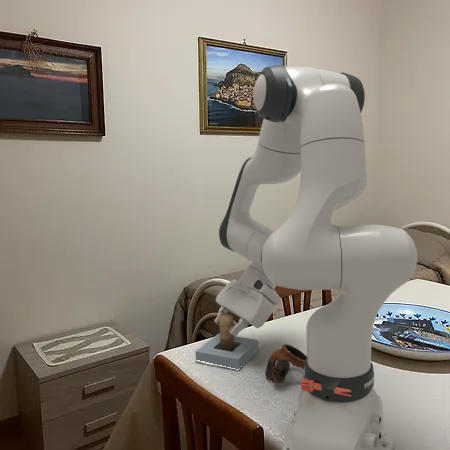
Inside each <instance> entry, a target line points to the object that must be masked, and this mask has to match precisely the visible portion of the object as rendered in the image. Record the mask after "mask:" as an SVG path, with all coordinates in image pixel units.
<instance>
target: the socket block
mask: <svg viewBox="0 0 450 450" xmlns="http://www.w3.org/2000/svg"><path fill="white" fill-rule="evenodd" d="M234 343H235V350H234V351H233V352H230V351H225V350H221V344H220V333H217V334H216V335H215V336H213V337H212V338H211V339H209V340H208V341H207V342H205V343H204V344H203V345H202V346H201V347H198V349H197V350H196V351H195V361H196V360H200V361H205V362H209V363H213V364H217V365H222V366H226V367H231V368H235V369H239V368H241V366H243V365H244V364H245V363H246V362H247V361H248V360H249V359H250V358H251V357H252V358H253V357H254V356H255V355H256V354H257V353H259V351H260V350H259V349H260V347H259V339H255V338H248V337H242V336H238V335H237V336H234ZM252 358H251V359H252ZM251 359H250V360H251ZM250 360H249V361H250ZM249 361H248V362H249ZM248 362H247V363H248ZM247 363H246V364H247ZM246 364H245V365H246ZM245 365H244V366H245ZM244 366H243V367H244ZM241 369H242V368H241Z"/></svg>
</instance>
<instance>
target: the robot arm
mask: <svg viewBox="0 0 450 450" xmlns="http://www.w3.org/2000/svg"><path fill="white" fill-rule="evenodd" d="M363 85H364V84H363V82H362V81H361V79H359V77H356V76H355V75H352V74H349V73H346V72H342V71H341V72H336V71H332V70H327V69H321V68H316V67H313V66H299V65H298V66H297V65H295V66H294V65H293V66H292V65H291V66H285V65H283V64H277V65H276V64H275V65H269V66H266V67H264V68H263V69H262V70H261V71H260V72H259V74H258V75H257V78H256V79H255V84H254V88H253V90H252V91H253V93H252V95H253V96H252V97H253V107H254V110H255V112H256V113H257V114H258V116H259V118H261V119H263V120H262V123H261V128H260V130H259V131H260V132H259V137H258V141H257V146H256V149H255V151H254V153H253V156H251V157H247V158H246V160H245V161H244V162H243V164H242V166H241V168H240V170H239V172H238V176H237V179H236V181H235V185H234V189H233V192H232V194H231V198H230V201H229V203H228V208H227V210H226V213H225V215H224V217H223V219H222V221H221V223H220V226H219V229H218V237H219V242H220V245H221V246H223V247H224V248H225V249H227V250H230V251H231V252H234V253H236V254H238V255H240V256H241V257H244V258H245V259H247V260H249V261H251V263H250V264H249V265H248V266H247V268H246V269H245V270H244V272H243V273H242V275H241V276H240V277H237V278H235V279H233V280H230V281H229V282H228V283H226V285H225V286H224V287H223V288H222V289H221V291H220V292H219V293H218V294H217V295H216V297H215V302H216V303H217V304H218V305H219V306H220V308H219V310H218V313H217V316H216V318H214V323H215V324H217V325H218V326H219V315H221V314H229V312H230V313H231V314H232V315H233V314H234V315H235V316H237V317H238V318H239V320H238V322H237V323H236V324H235V325H234V326H232V327H231V329H230V330H229V332H230V333H231V334H232V335H233V336H237V337H238V335H239V333H240V332H241V331H242V330H243V331H244V330H245V329H246V328H247V327H248V326H249V325H251V326H252V327H254V328H256V329H260V328H261V327H262V326H264V325H265V323H266V322H267V321H268V320H269V318H270V316H271V315H272V314H273V312H274V310H275V306H277V305H279V304H280V302H281V301H282V299H281V297H280V296H279V294H278V293H277V291H276V290H275V288H276V287H280V288H285V289H292V290H298V291H321V290H322V291H324V290H325V291H326V290H329V291H330V290H332V291H333V290H338V291H339V294H338V295H337V297H336V298H334V300H332V301H331V302H329V303H328V304H326V305H323V306H321V307H319V308H317V309H316V310H315V311H314V312H313V313H312V314H311V315H310V316H309V318H308V320H307V323H306V330H305V331H306V356H307V359H306V361H305V367H304V369H303V378H302V380H301V383H300V392H299V396H298V402H297V406H296V410H295V411H294V414H293V415H292V417H290V420H289V423H288V426H287V430H286V435H285V438H284V442H283V446H282V449H281V450H394V448H395V445H394V440H393V439H392V438H391V437H390V436H388V435H387V434H385V430H384V428H385V427H384V408H383V407H384V404H383V399H382V398H381V397H380V395H378V393H377V391H376V390H375V388H374V385H375V384H374V383H375V382H374V381H375V371H374V365H373V362H372V340H373V330H374V324H375V322H376V318H377V316H378V313H379V312H380V309H381V308H382V306H383V305H384V303H385V302H386V301H387V300H388V298H389V297H390V296H391V295H392V294H393V293H394V292H395V291H397V290H398V289H399V288H400V287H402V286H403V285H405V284H407V282H408V281H410V280H411V278H412V277H413V275H414V273H415V271H416V268H417V265H418V250H417V246H416V244H415V241H414V240H413V239H412V237H411V235H410V234H409V233H408V232H407V231H405V230H404V229H403V228H399V227H394V226H389V225H382V224H376V223H375V224H373V223H371V224H348V225H347V224H346V225H336V224H333V223H332V216H333V214H334V213H335V211H337V210H339V209H341V208H343V207H344V206H347V205H349V204H350V203H351V202H354V201H355V200H356V199H358V198H359V197H360V196H362V194H363V193H364V192H365V190H366V187H367V183H368V182H367V180H368V179H367V178H368V177H367V165H366V164H367V160H366V144H365V134H364V133H365V131H364V124H363V119H362V112H363V109H364V105H365V100H366V96H365V88H364V86H363ZM299 174H300V183H299V192H298V195H297V196H298V197H297V200H296V203H295V205H294V207H293V209H292V210H291V212H290V214H289V215H288V217H287V218H286V220H285V221H284V222H283V223H282V224H281V225H280V226H279V227H278V228H277V229H274V228H272V227H270V226H269V225H265V224H263V223H261V222H260V221H257V220H255V219H254V218H253V217H252V216H251V214H250V210H251V208H252V204H253V202H254V199H255V195H256V192H257V189H258V188H259V186H260V185H277V184H282V183H285V182H289V181H291V180H293V179H294V178H295V177H297V176H298V175H299Z"/></svg>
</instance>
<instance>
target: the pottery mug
mask: <svg viewBox="0 0 450 450" xmlns="http://www.w3.org/2000/svg"><path fill="white" fill-rule="evenodd" d="M306 359H307V354H304V352H302V351H301V350H299V349H298V348H296V347H294V346H293V345H290V344H287V343H284V344H282V346H281V348H278V349H276V350H274V351H273V353H271V355H270V357H269V359H268V360H267V364H266V368H265V373H264V376H265V378H266V380H268V381H269V380H270V381H273V382H274V381H275V382H276V383H284V381H285V380H286V376H287V374H288V372H290V369H291V366H294V367H296V368H297V369H298V368H300V369H301V370H304V367H305V361H306ZM270 381H269V382H270Z"/></svg>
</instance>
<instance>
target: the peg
mask: <svg viewBox="0 0 450 450" xmlns="http://www.w3.org/2000/svg"><path fill="white" fill-rule="evenodd" d="M218 326H219V334H220V344H221V350H225V351H230V352H233V351H234V350H235V343H234V336H233V335H232V334H231V333H230V332H229V330H230V329H231V327H232V326H235V325H234V315H233V313H228V314H221V315H219V325H218Z"/></svg>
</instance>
